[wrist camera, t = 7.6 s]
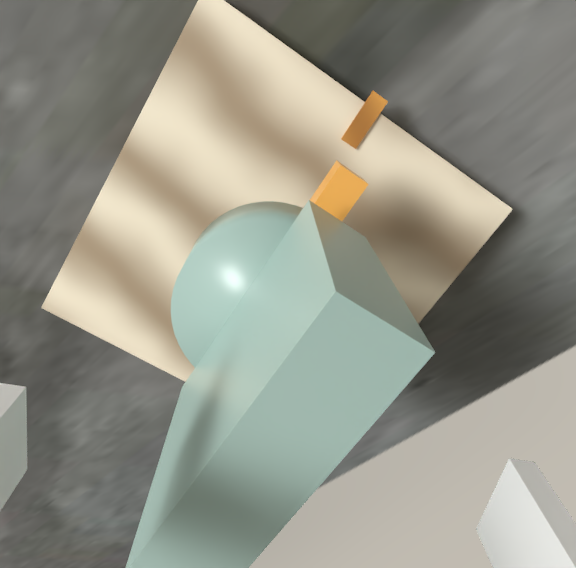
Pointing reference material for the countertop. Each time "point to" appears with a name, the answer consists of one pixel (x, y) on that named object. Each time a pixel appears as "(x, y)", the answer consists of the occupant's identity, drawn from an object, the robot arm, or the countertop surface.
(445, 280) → the base
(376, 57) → the countertop surface
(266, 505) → the mint bar with ball
